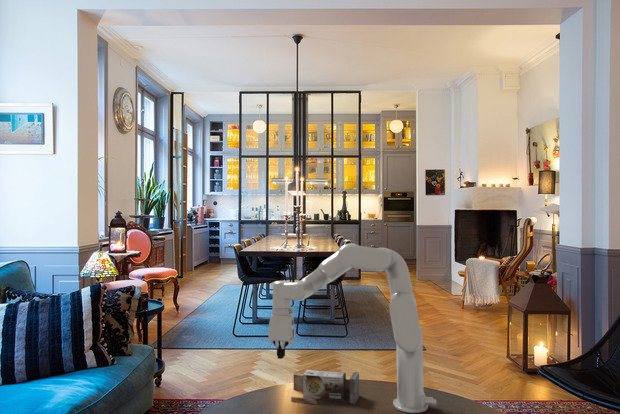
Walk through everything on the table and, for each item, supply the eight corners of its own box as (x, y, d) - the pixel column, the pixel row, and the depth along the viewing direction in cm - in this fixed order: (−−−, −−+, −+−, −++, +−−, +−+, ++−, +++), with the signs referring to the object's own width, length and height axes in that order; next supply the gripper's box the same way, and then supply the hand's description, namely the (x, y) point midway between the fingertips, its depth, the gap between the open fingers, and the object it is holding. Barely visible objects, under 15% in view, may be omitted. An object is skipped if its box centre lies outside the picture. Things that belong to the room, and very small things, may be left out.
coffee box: (306, 392, 168) (346, 395, 165) (302, 398, 162) (344, 402, 159) (306, 369, 169) (346, 372, 166) (303, 374, 163) (344, 377, 159)
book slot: (359, 395, 165) (358, 372, 165) (353, 408, 153) (352, 383, 153) (294, 388, 172) (294, 366, 173) (283, 400, 160) (283, 376, 161)
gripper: (302, 311, 171) (301, 357, 169) (268, 308, 175) (267, 353, 174) (296, 314, 163) (295, 362, 162) (260, 312, 168) (259, 358, 167)
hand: (280, 357), depth 168 cm, fingers closed
